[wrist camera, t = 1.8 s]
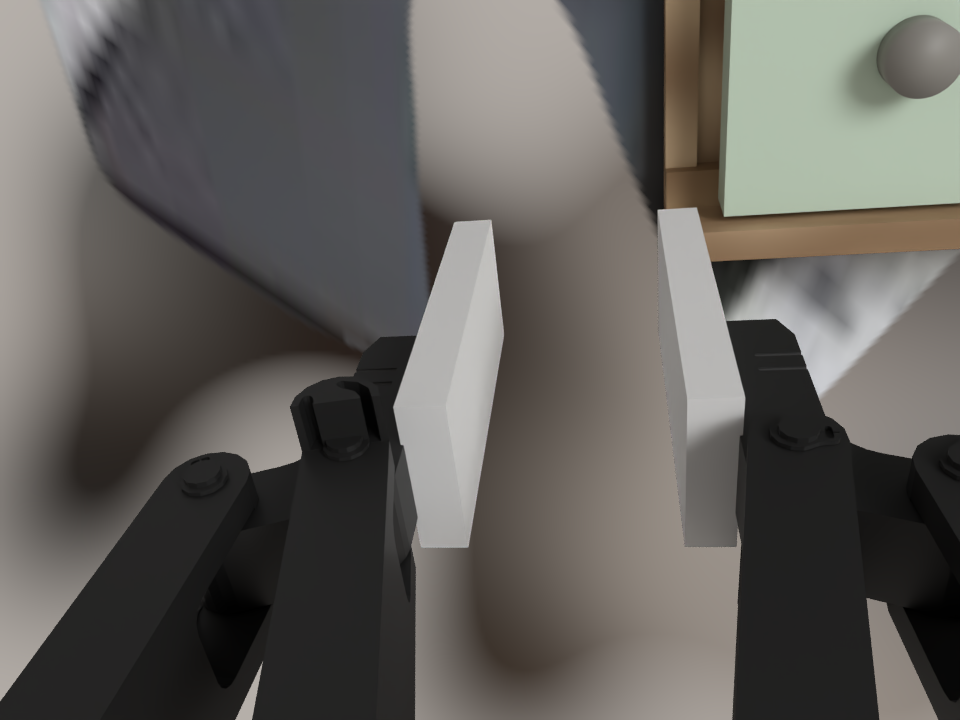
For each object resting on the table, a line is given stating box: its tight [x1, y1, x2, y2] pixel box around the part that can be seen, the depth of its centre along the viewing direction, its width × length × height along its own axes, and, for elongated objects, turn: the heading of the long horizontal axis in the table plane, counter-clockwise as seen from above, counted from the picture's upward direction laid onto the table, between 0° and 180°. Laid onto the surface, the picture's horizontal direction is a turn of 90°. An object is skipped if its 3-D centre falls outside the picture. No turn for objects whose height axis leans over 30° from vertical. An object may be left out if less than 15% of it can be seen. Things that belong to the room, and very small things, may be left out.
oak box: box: [664, 0, 960, 261], centre depth 30 cm, size 14×16×4 cm
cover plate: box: [718, 0, 960, 217], centre depth 29 cm, size 11×12×3 cm
